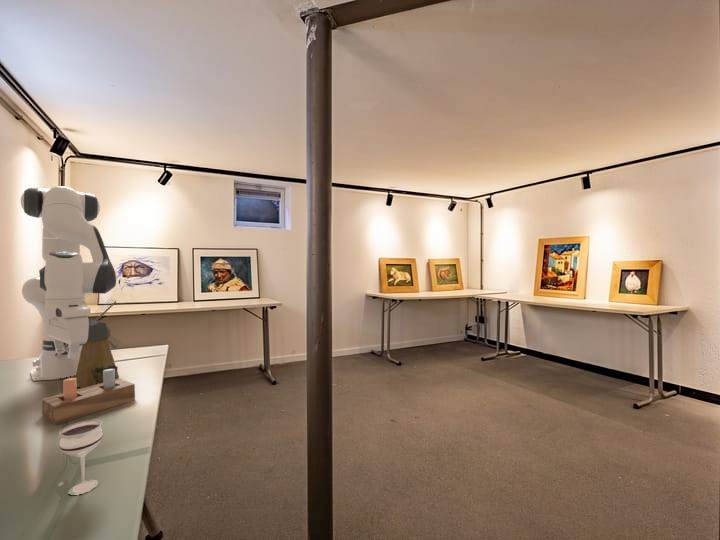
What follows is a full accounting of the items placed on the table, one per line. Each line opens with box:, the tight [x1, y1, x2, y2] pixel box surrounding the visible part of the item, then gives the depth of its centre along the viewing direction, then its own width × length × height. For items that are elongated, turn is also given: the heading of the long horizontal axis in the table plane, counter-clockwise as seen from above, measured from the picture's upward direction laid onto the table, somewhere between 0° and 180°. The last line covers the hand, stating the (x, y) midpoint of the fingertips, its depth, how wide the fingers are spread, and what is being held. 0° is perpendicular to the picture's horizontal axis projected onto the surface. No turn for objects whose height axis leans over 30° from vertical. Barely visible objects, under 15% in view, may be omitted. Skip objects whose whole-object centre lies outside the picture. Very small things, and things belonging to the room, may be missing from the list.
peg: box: [62, 377, 78, 401], centre depth 103 cm, size 3×3×10 cm
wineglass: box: [58, 419, 104, 493], centre depth 69 cm, size 7×7×12 cm
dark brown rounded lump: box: [91, 364, 118, 385], centre depth 120 cm, size 8×7×8 cm
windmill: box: [55, 297, 122, 389], centre depth 129 cm, size 21×14×30 cm, turn 148°
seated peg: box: [103, 369, 115, 390], centre depth 111 cm, size 3×3×10 cm
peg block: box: [41, 377, 136, 426], centre depth 107 cm, size 10×20×5 cm, turn 147°
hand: (66, 355), depth 102 cm, fingers open, 8 cm apart
